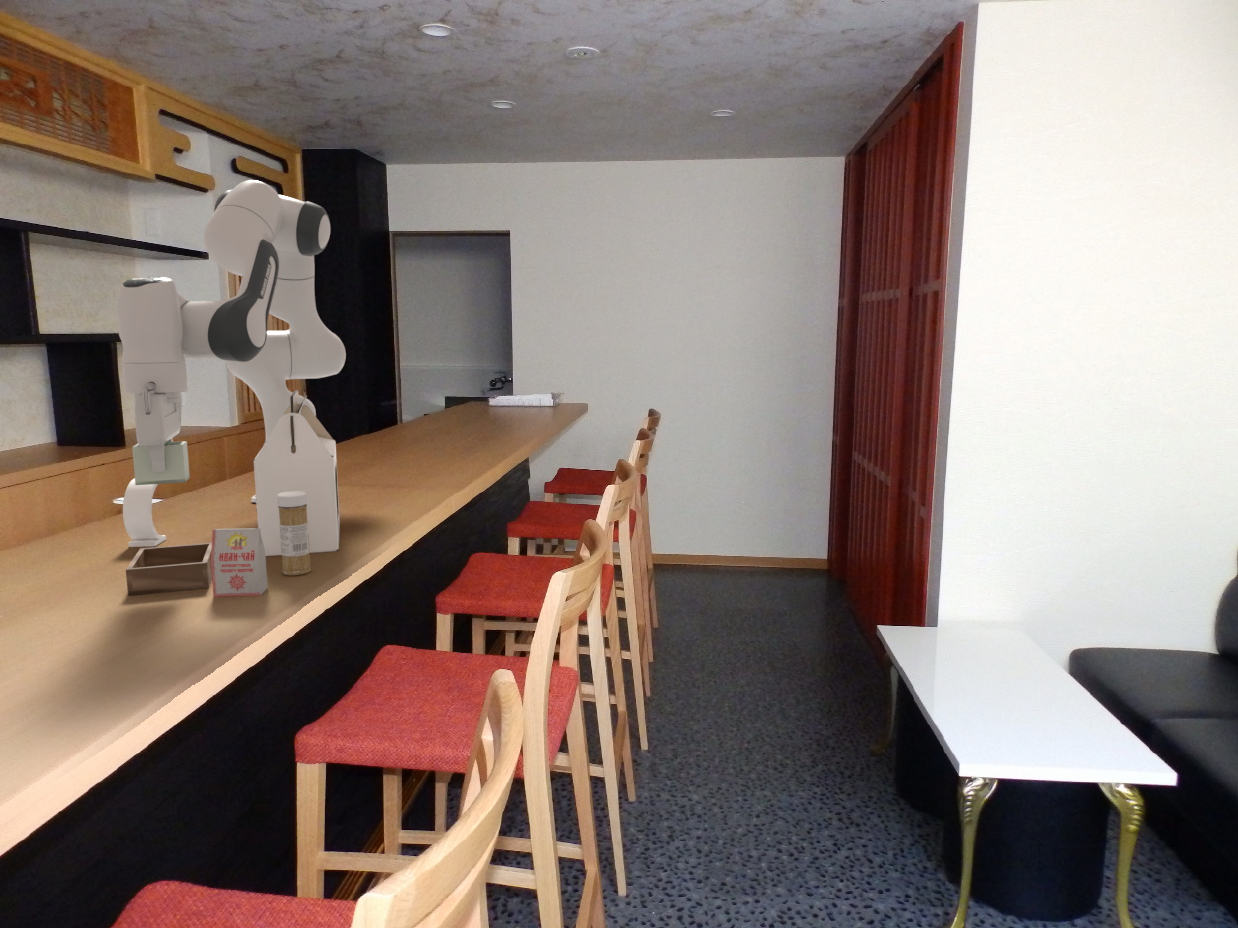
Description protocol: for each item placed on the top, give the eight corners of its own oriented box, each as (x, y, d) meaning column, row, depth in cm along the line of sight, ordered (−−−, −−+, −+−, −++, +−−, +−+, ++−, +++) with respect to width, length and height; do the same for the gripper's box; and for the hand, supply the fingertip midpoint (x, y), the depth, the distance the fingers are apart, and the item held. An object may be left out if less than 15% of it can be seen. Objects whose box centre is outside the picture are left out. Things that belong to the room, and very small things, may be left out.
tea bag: (222, 589, 130) (217, 526, 128) (267, 588, 130) (263, 525, 129) (213, 596, 126) (208, 532, 125) (259, 595, 127) (255, 531, 125)
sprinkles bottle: (309, 567, 142) (305, 489, 139) (312, 574, 138) (308, 494, 135) (280, 570, 140) (275, 491, 137) (282, 577, 136) (277, 496, 133)
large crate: (142, 571, 138) (140, 548, 138) (215, 565, 142) (214, 542, 142) (128, 595, 126) (125, 569, 126) (208, 587, 130) (206, 562, 130)
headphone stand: (166, 539, 159) (161, 477, 157) (152, 547, 153) (146, 483, 151) (140, 539, 159) (135, 477, 157) (125, 548, 153) (119, 483, 151)
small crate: (135, 485, 130) (132, 447, 129) (141, 480, 135) (138, 443, 135) (185, 482, 133) (182, 444, 132) (189, 477, 138) (186, 441, 137)
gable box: (338, 551, 152) (330, 397, 147) (259, 557, 148) (249, 398, 143) (339, 524, 172) (332, 388, 168) (270, 528, 168) (261, 389, 164)
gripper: (168, 383, 123) (176, 476, 125) (185, 379, 142) (191, 459, 144) (119, 384, 121) (128, 478, 123) (143, 379, 140) (150, 461, 142)
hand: (162, 468), depth 134 cm, fingers closed on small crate, 5 cm apart
